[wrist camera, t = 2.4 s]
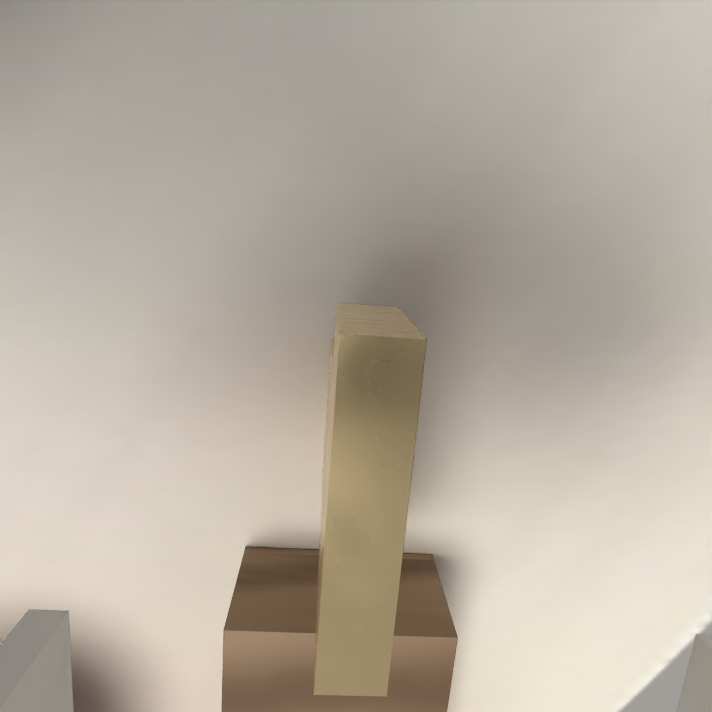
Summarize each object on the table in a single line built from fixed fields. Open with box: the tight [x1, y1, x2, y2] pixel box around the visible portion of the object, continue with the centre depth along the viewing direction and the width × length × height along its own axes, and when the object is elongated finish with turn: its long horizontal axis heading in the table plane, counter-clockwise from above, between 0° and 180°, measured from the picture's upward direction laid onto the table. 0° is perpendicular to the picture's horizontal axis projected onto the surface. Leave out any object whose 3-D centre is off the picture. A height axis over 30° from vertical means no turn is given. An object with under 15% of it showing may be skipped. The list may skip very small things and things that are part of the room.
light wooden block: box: [314, 303, 427, 697], centre depth 21 cm, size 12×2×11 cm, turn 176°
